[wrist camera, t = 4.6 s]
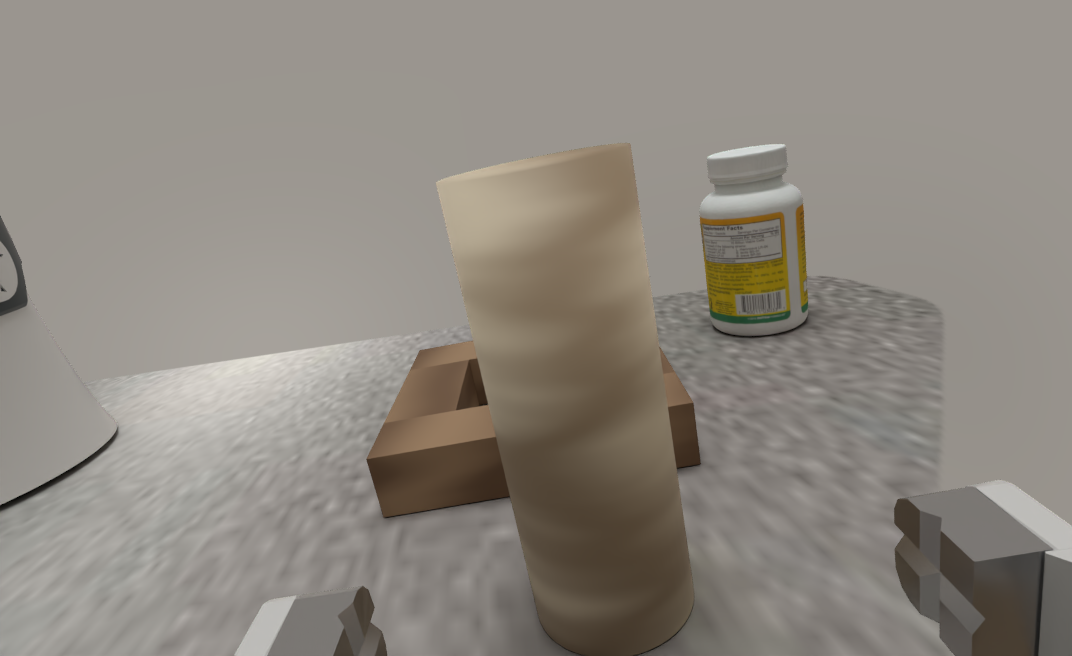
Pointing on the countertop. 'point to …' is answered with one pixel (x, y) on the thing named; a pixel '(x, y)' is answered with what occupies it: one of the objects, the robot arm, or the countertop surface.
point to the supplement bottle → (754, 243)
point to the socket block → (467, 435)
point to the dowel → (576, 391)
